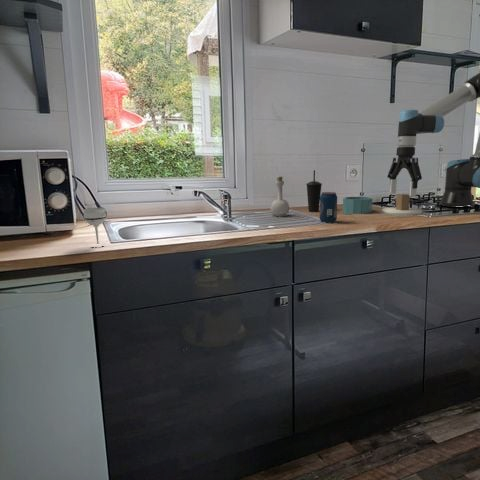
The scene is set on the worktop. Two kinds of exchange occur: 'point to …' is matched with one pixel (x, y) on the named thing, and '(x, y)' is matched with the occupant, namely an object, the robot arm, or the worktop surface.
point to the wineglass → (95, 217)
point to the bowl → (357, 205)
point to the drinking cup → (313, 195)
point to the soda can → (328, 207)
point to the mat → (403, 215)
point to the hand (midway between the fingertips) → (402, 194)
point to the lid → (402, 206)
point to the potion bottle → (279, 201)
